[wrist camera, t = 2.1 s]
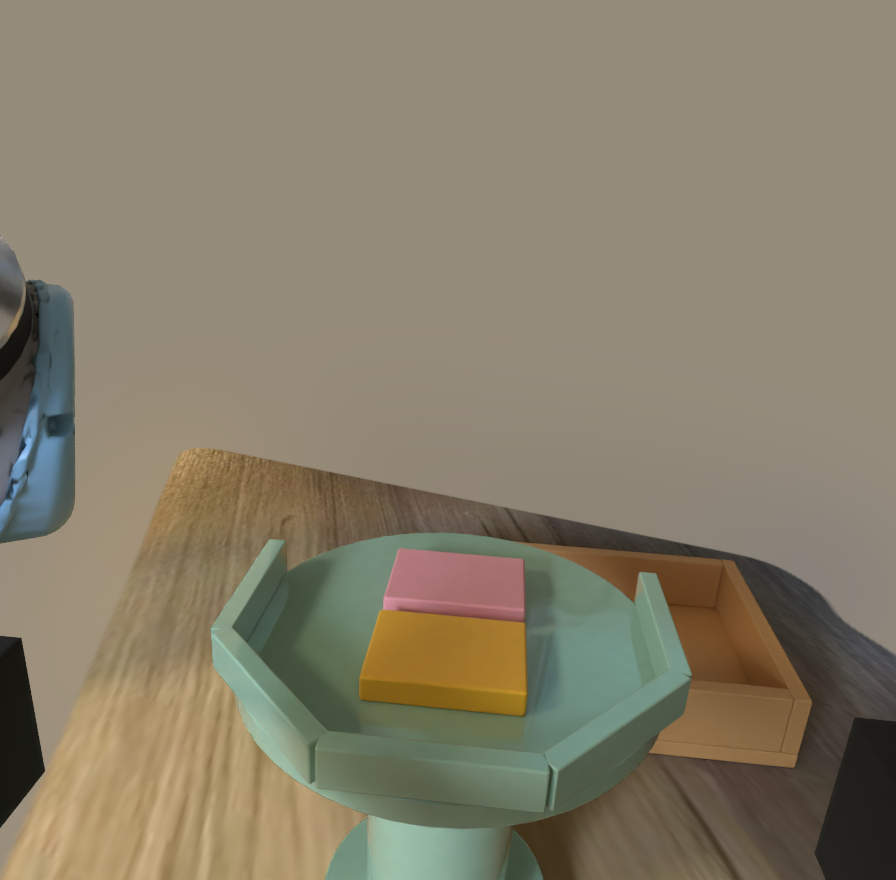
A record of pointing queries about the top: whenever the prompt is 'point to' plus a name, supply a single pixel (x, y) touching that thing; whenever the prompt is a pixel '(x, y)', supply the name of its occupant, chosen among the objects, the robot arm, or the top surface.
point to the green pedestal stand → (444, 730)
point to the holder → (716, 658)
